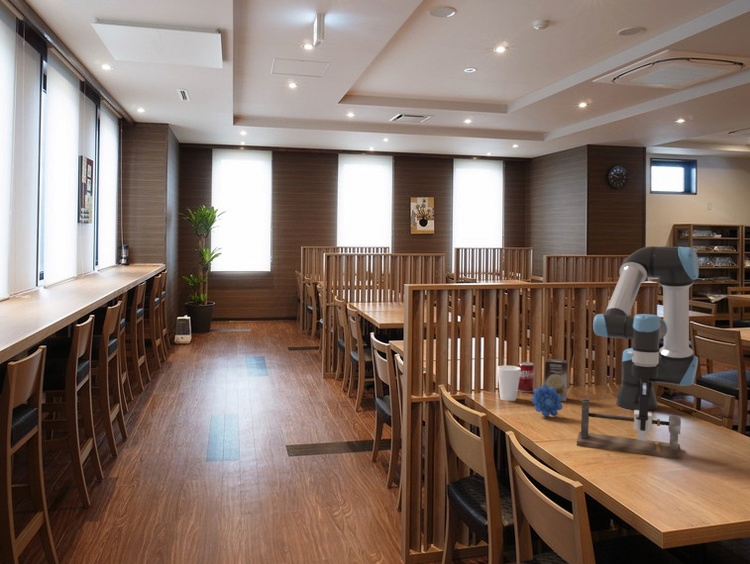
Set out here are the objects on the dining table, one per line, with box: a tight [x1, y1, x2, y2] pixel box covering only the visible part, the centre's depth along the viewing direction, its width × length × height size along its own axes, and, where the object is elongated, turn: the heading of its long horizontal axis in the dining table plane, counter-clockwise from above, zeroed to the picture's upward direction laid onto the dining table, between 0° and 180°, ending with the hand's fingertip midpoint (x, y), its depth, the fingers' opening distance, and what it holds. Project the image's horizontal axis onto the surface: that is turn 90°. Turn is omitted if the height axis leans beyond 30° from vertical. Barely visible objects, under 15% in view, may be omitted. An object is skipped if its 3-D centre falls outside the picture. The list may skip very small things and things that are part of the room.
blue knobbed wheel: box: [530, 384, 563, 418], centre depth 222 cm, size 12×7×12 cm, turn 91°
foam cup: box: [496, 365, 521, 402], centre depth 248 cm, size 10×9×13 cm
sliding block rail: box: [576, 398, 683, 460], centre depth 190 cm, size 30×10×14 cm, turn 67°
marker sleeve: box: [633, 410, 653, 433], centre depth 188 cm, size 5×5×5 cm
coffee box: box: [543, 358, 569, 402], centre depth 249 cm, size 9×6×16 cm
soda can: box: [516, 361, 535, 393], centre depth 262 cm, size 7×7×12 cm
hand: (642, 437), depth 189 cm, fingers closed on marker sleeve, 5 cm apart
